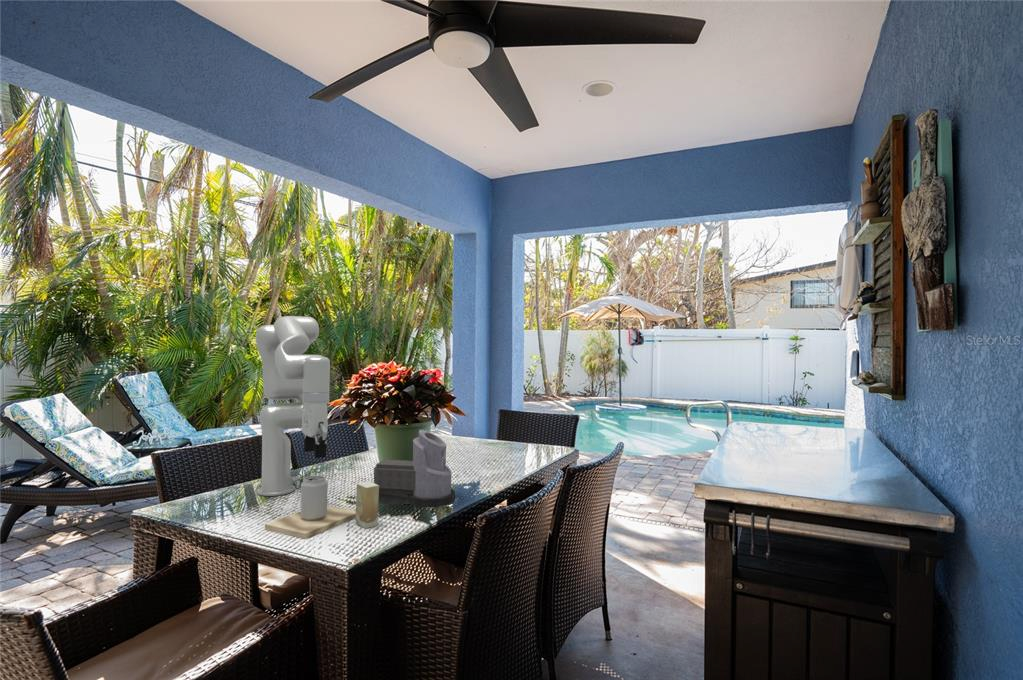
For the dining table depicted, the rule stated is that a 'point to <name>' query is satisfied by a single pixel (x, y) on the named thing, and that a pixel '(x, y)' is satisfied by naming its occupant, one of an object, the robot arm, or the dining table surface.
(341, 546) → the dining table surface
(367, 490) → the skincare box
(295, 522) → the oak board
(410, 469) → the juicer
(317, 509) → the can
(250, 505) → the dining table surface
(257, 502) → the dining table surface
